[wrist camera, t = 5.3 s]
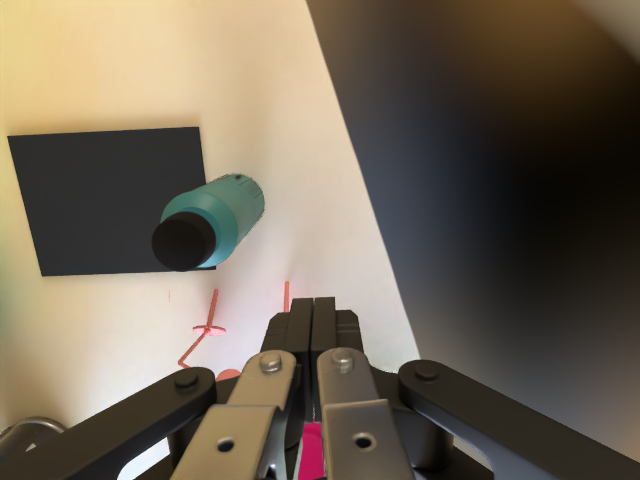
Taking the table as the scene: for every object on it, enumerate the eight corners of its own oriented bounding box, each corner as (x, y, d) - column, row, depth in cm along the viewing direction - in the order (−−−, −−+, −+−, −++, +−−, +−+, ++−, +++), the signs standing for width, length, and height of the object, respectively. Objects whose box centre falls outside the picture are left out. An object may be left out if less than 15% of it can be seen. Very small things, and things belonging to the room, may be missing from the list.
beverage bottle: (255, 163, 44) (198, 181, 24) (277, 215, 45) (240, 272, 26) (204, 183, 44) (110, 217, 25) (228, 234, 46) (156, 303, 27)
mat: (44, 275, 48) (41, 276, 47) (9, 136, 43) (6, 136, 43) (216, 268, 47) (215, 269, 47) (198, 126, 43) (197, 126, 42)
